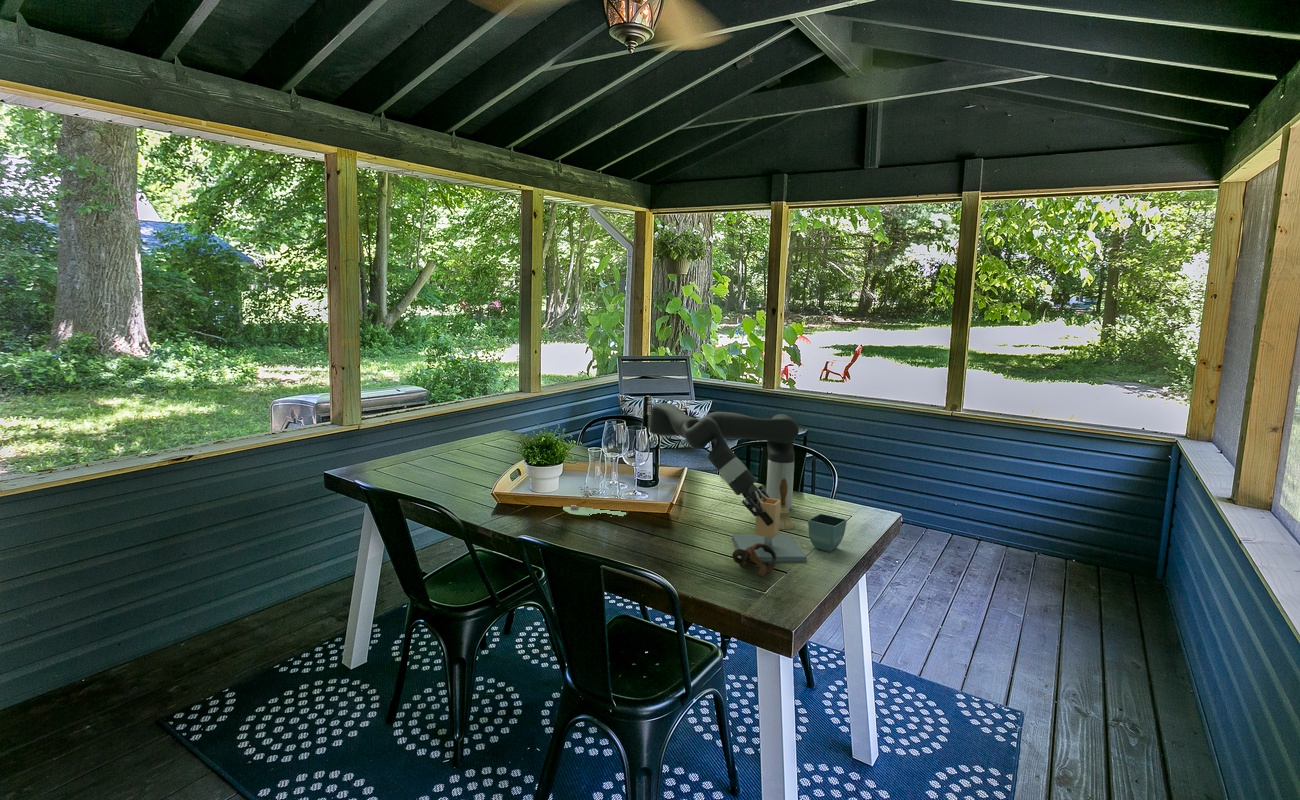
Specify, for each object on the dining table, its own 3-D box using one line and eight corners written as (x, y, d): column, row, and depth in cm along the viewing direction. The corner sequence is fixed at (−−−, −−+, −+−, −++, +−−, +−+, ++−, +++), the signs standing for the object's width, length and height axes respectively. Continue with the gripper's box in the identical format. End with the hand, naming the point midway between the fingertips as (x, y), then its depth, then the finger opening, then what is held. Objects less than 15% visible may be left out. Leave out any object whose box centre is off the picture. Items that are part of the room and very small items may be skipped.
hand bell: (794, 530, 214) (797, 483, 212) (768, 528, 216) (771, 481, 213) (794, 522, 222) (797, 476, 220) (769, 520, 224) (771, 474, 221)
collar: (755, 534, 196) (757, 501, 194) (760, 528, 201) (762, 496, 199) (773, 538, 193) (775, 505, 192) (778, 532, 198) (780, 499, 197)
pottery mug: (762, 562, 190) (775, 542, 186) (769, 588, 182) (783, 569, 178) (724, 554, 187) (736, 534, 183) (730, 581, 179) (742, 561, 175)
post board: (731, 538, 206) (733, 513, 205) (788, 538, 207) (790, 513, 206) (744, 562, 188) (745, 534, 187) (806, 561, 190) (808, 534, 188)
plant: (640, 505, 238) (641, 481, 237) (616, 523, 219) (616, 496, 218) (578, 496, 247) (578, 473, 246) (550, 512, 229) (550, 487, 227)
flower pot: (818, 540, 206) (820, 512, 205) (845, 547, 201) (847, 519, 199) (805, 548, 199) (807, 519, 198) (833, 556, 194) (835, 526, 193)
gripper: (736, 477, 207) (771, 520, 203) (720, 489, 194) (757, 535, 191) (753, 463, 203) (789, 507, 200) (738, 474, 191) (776, 521, 187)
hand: (773, 520), depth 195 cm, fingers closed on collar, 5 cm apart
